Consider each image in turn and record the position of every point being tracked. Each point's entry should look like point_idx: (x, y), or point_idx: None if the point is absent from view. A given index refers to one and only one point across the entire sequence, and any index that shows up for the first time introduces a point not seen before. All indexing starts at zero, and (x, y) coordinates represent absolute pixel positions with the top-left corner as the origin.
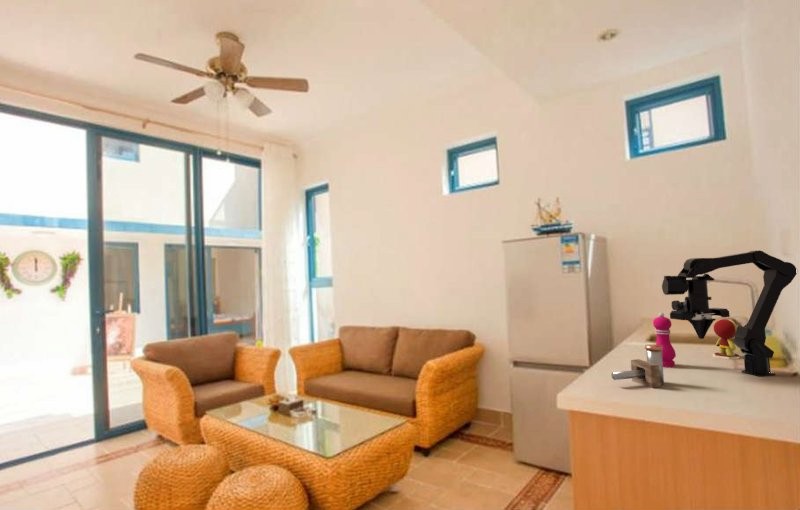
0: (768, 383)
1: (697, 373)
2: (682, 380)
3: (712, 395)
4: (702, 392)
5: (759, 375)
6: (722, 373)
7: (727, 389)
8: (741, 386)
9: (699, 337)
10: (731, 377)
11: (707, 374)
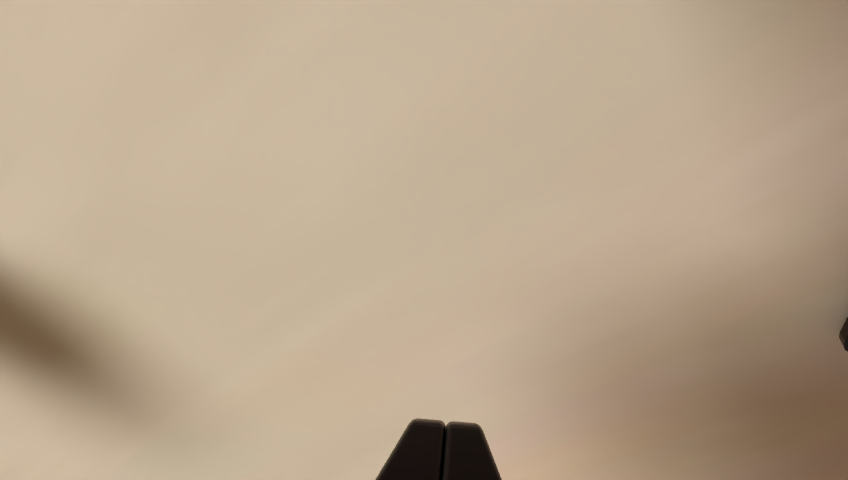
0: (646, 452)
1: (406, 10)
2: (41, 178)
3: (51, 470)
4: (24, 424)
5: (844, 345)
6: (680, 122)
7: (233, 439)
8: (387, 432)
9: (402, 457)
10: (583, 264)
11: (475, 93)
